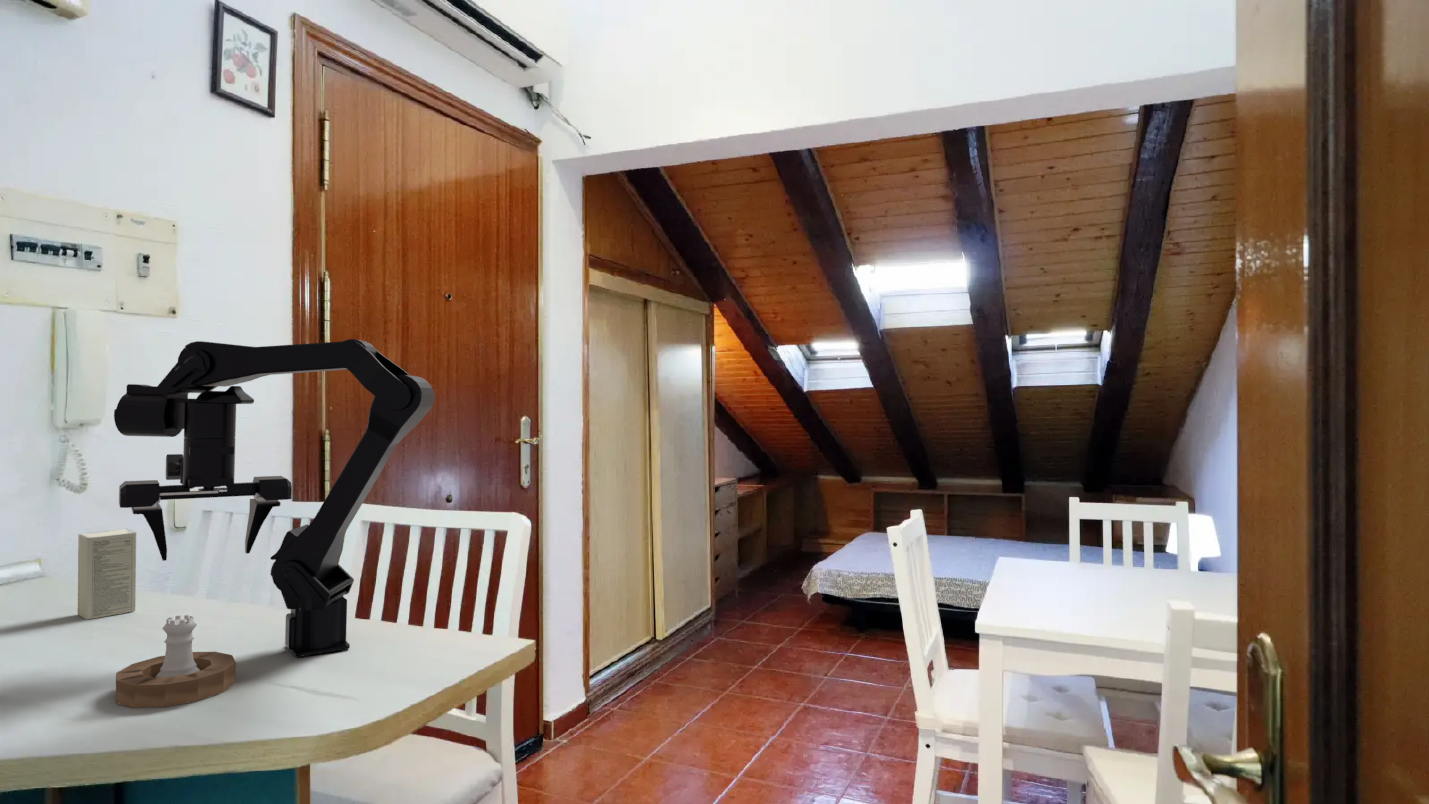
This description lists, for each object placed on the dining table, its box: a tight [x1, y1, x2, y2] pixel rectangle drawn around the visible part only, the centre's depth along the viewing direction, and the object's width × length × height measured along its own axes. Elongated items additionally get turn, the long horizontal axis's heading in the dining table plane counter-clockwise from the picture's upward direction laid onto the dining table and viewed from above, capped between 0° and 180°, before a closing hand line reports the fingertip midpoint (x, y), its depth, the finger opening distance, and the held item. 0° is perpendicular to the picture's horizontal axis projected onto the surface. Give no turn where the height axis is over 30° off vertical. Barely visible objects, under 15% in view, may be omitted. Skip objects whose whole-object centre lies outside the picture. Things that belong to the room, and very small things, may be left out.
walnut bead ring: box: [115, 651, 237, 709], centre depth 89 cm, size 11×11×2 cm
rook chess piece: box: [156, 614, 200, 677], centre depth 89 cm, size 4×4×8 cm
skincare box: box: [77, 528, 137, 620], centre depth 117 cm, size 6×4×12 cm
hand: (206, 556), depth 103 cm, fingers open, 9 cm apart
